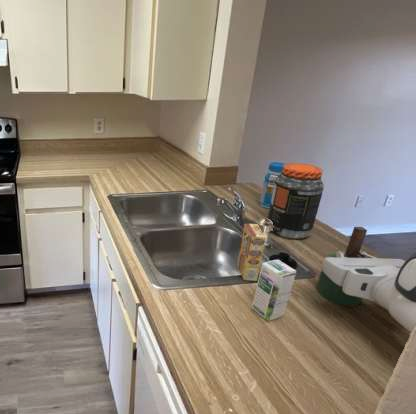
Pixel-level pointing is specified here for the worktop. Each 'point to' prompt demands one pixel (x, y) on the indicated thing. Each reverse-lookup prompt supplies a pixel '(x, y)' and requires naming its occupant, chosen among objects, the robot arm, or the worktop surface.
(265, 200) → the beverage bottle
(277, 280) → the syrup box
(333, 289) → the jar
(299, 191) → the supplement tub
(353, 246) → the brush
